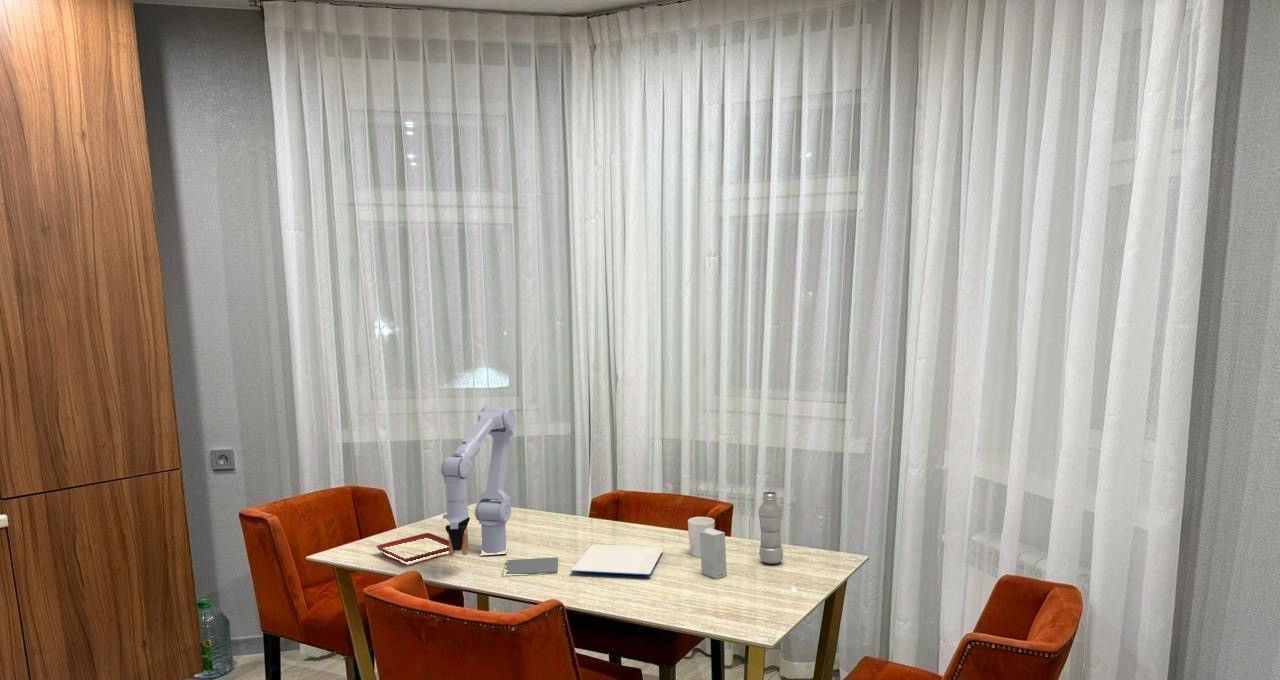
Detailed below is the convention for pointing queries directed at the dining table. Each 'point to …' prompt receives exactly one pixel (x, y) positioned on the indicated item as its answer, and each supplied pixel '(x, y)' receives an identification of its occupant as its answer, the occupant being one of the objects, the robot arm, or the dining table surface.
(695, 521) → the white cup
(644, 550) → the plate
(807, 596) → the dining table surface
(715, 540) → the skincare box
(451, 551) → the notched tan cube
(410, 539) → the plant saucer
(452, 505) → the robot arm
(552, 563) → the rubber mat
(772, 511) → the plastic bottle
